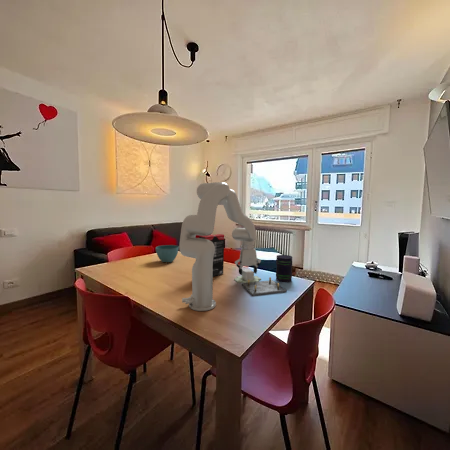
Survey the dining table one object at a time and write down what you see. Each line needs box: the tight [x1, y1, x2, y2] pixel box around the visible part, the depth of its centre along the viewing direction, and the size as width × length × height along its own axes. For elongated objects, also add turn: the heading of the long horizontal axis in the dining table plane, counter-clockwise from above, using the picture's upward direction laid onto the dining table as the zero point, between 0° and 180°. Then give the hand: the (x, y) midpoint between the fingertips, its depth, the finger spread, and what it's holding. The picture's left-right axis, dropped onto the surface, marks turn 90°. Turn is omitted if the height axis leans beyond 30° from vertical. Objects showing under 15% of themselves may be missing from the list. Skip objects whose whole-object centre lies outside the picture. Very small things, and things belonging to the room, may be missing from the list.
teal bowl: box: [155, 244, 180, 263], centre depth 186 cm, size 18×18×12 cm
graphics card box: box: [198, 233, 225, 277], centre depth 150 cm, size 17×7×27 cm, turn 134°
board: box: [233, 268, 262, 284], centre depth 143 cm, size 16×12×6 cm
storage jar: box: [275, 254, 293, 283], centre depth 143 cm, size 10×10×15 cm
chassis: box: [241, 276, 287, 297], centre depth 129 cm, size 20×16×4 cm
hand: (247, 273), depth 143 cm, fingers open, 9 cm apart
